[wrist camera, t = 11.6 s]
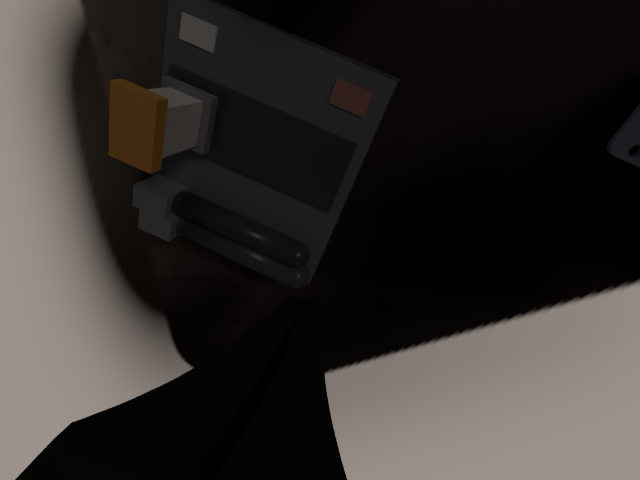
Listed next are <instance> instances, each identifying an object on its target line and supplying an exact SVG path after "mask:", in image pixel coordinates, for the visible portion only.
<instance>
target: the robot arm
mask: <svg viewBox="0 0 640 480" xmlns="http://www.w3.org/2000/svg"><path fill="white" fill-rule="evenodd" d="M635 145H638V150H637V152H636V153H634V154H632V155H629V153H628V152H629V150H630V148H632V147H633V146H635ZM607 151H608V153H609V154H611V155H612V156H614V157H617V158H619V159H621V160H624V161H626V162H629V163H631V164H633V165H636V166H638V167H640V104H639V105H638V106H637V108H636V109H635V110H634V111H633V112H632V114H631V115H630V116H629V117H628V119H627V120H626V121H625V122H624V124H623V125H622V126H621V127H620V128H619V130H618V131H617V132H616V133H615V135H614V136H613V137H612V138H611V140H610V141H609V143H608V145H607ZM326 314H327V306H326V305H325V304H322V303H318V302H314V301H311V300H307V299H303V298H299V297H295V296H291V295H290V296H288V297H286V298H285V299H284V300H283V301H282V302H281V303H280V304H279V305H278V306H277V307H276V308H275V309H274V310H273V311H272V312H271V313H270V314H268V315H267V316H266V317H265V318H264V319H263V320H261V321H260V322H259V323H258V324H257V325H255V326H254V327H253V328H252V329H251V330H249V331H248V332H247V333H246V334H244V335H243V336H241V337H240V338H239V339H237V340H236V341H235V342H233V343H232V344H231V345H229V346H228V347H227V348H225V349H224V350H222V351H221V352H219V353H218V354H216V355H215V356H213V357H212V358H210V359H208V360H207V361H205V362H204V363H202V364H200V365H199V366H197V367H195V368H193V369H192V370H190V371H188V372H186V373H184V374H183V375H181V376H179V377H178V378H176V379H174V380H172V381H170V382H168V383H166V384H164V385H162V386H160V387H157V388H155V389H153V390H151V391H149V392H147V393H145V394H143V395H140V396H138V397H136V398H134V399H132V400H129V401H127V402H125V403H122V404H120V405H117V406H115V407H112V408H110V409H107V410H105V411H102V412H99V413H96V414H94V415H91V416H89V417H86V418H83V419H81V420H78V421H75V422H72V423H71V424H70V425H69V426H68V427H67V428H65V429H64V430H63V431H62V432H61V433H60V434H59V435H58V436H57V437H56V438H54V439H53V441H52V442H51V443H50V444H49V445H48V446H47V447H46V448H45V449H44V450H43V451H42V452H41V453H40V454H39V455H38V456H37V457H36V458H35V459H34V460H33V461H32V463H31V464H30V465H29V466H28V467H27V468H26V469H25V470H24V471H23V472H22V473H21V474H20V475H19V476H18V477H17V478H16V479H15V480H347V478H346V474H345V471H344V468H343V464H342V461H341V457H340V453H339V449H338V445H337V441H336V437H335V433H334V429H333V424H332V420H331V414H330V409H329V404H328V398H327V392H326V384H325V375H324V364H323V331H324V325H325V319H326Z"/></svg>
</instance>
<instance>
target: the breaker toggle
mask: <svg viewBox="0 0 640 480" xmlns="http://www.w3.org/2000/svg"><path fill="white" fill-rule="evenodd" d="M218 99H219V97H217V96H214V95H212V94H210V93H207V92H205V91H203V90H201V89H198V88H196V87H194V86H191V85H189V84H187V83H185V82H182V81H180V80H178V79H175V78H173V77H171V76H162V82H161V88H156V89H145V88H143V87H140V86H138V85H136V84H133V83H131V82H129V81H127V80H124V79H115V80H110V119H109V125H110V126H109V155H110V156H112V157H114V158H116V159H118V160H120V161H123V162H125V163H127V164H129V165H132V166H134V167H136V168H138V169H141V170H143V171H145V172H147V173H149V174H152V173H154V172H157V171H159V170H161V163H162V158H165V157H168V156H170V155H173V154H176V153H178V152H181V151H183V150H186V149H190V150H192V151H195V152H197V153H199V154H201V155H205V154H207V153H209V148H210V143H211V137H212V132H213V126H214V121H215V115H216V110H217V104H218Z"/></svg>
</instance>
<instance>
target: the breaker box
mask: <svg viewBox="0 0 640 480" xmlns="http://www.w3.org/2000/svg"><path fill="white" fill-rule="evenodd" d="M162 76H171V77H173V78H175V79H178V80H180V81H182V82H185V83H187V84H189V85H191V86H194V87H196V88H198V89H201V90H203V91H205V92H207V93H210V94H212V95H214V96H217V97H219V99H218V104H217V110H216V115H215V121H214V126H213V132H212V137H211V143H210V148H209V153H207V154H205V155H201V154H199V153H197V152H195V151H192V150H190V149H186V150H183V151H181V152H178V153H176V154H173V155H170V156H168V157H165V158H162V163H161V170H159V171H157V172H154V173H153V175H152V177H150V178H147V179H145V180H143V181H140V182H138V183H136V184H134V188H133V204H132V205H133V206H135V207H137V208H139V222H138V228H139V229H141V230H144V231H146V232H148V233H150V234H152V235H155V236H157V237H159V238H161V239H163V240H165V241H168V242H170V241H171V240H172V239H174V238H175V237H177V236H179V237H181V238H183V239H185V240H187V241H190V242H192V243H194V244H196V245H198V246H201V247H203V248H205V249H207V250H209V251H211V252H214V253H216V254H218V255H220V256H222V257H225V258H227V259H229V260H231V261H233V262H236V263H238V264H240V265H242V266H244V267H247V268H249V269H251V270H253V271H255V272H258V273H260V274H262V275H264V276H266V277H269V278H271V279H273V280H275V281H277V282H279V283H282V284H284V285H286V286H288V287H290V288H294V289H298V288H302V287H303V286H305V285H306V284H307V285H309V283H310V281H311V279H312V277H313V275H314V273H315V271H316V269H317V267H318V265H319V262H320V260H321V258H322V256H323V254H324V251H325V249H326V247H327V244H328V242H329V240H330V238H331V235H332V233H333V231H334V228H335V226H336V224H337V222H338V219H339V217H340V215H341V212H342V210H343V208H344V206H345V203H346V201H347V199H348V197H349V194H350V192H351V190H352V187H353V185H354V183H355V181H356V178H357V176H358V174H359V171H360V169H361V167H362V165H363V162H364V160H365V158H366V155H367V153H368V151H369V149H370V146H371V144H372V142H373V139H374V137H375V135H376V133H377V130H378V128H379V126H380V123H381V121H382V119H383V117H384V114H385V112H386V110H387V107H388V105H389V103H390V101H391V98H392V96H393V94H394V91H395V89H396V87H397V85H398V82H399V80H400V79H398V78H396V77H394V76H391V75H389V74H387V73H384V72H382V71H379V70H377V69H375V68H372V67H370V66H368V65H365V64H363V63H361V62H358V61H356V60H353V59H351V58H349V57H346V56H344V55H342V54H339V53H337V52H335V51H332V50H330V49H327V48H325V47H323V46H320V45H318V44H316V43H313V42H311V41H309V40H306V39H304V38H301V37H299V36H297V35H294V34H292V33H290V32H287V31H285V30H283V29H280V28H278V27H275V26H273V25H271V24H268V23H266V22H264V21H261V20H259V19H257V18H254V17H252V16H249V15H247V14H245V13H242V12H240V11H238V10H235V9H233V8H231V7H228V6H226V5H223V4H221V3H219V2H216V1H214V0H169V5H168V16H167V26H166V37H165V48H164V58H163V69H162ZM161 82H162V80H161Z"/></svg>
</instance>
